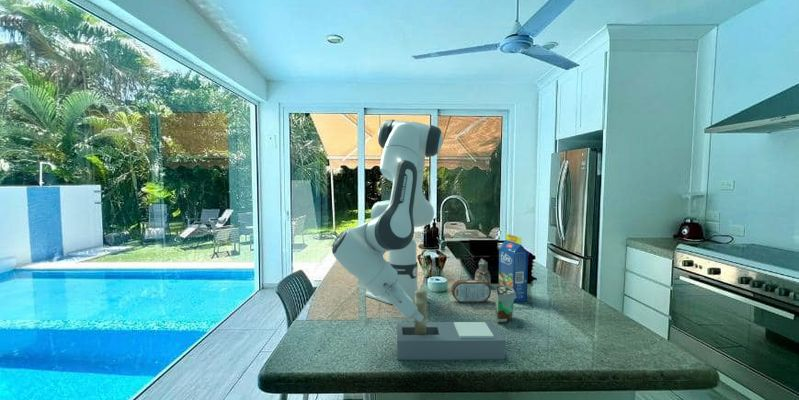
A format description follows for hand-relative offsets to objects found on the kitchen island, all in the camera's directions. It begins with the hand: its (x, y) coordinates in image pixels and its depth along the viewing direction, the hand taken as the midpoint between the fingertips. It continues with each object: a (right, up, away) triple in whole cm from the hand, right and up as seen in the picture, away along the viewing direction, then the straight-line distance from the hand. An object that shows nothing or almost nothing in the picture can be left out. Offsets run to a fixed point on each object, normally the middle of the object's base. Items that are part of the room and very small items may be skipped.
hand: (416, 312), depth 95 cm
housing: (+9, -10, +1) cm, 13 cm away
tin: (+23, -9, +39) cm, 46 cm away
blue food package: (+41, -8, +45) cm, 61 cm away
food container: (+31, -10, +22) cm, 39 cm away
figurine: (+32, -8, +59) cm, 68 cm away
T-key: (+1, -10, +1) cm, 10 cm away
